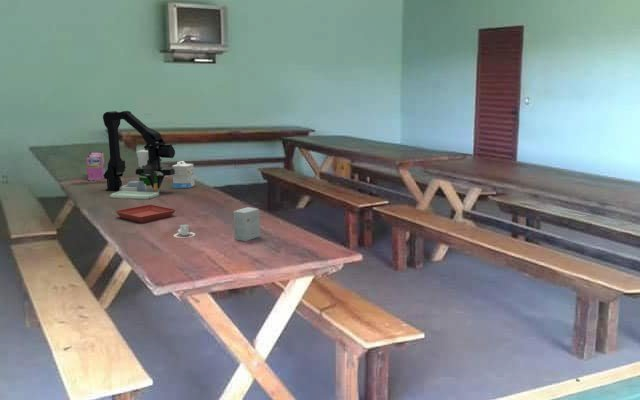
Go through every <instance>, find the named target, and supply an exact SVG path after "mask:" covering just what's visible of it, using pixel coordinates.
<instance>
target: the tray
mask: <svg viewBox="0 0 640 400" xmlns="http://www.w3.org/2000/svg"><path fill="white" fill-rule="evenodd" d="M159 196H160V192H133V191H120V190H117V191H116V192H113V193H110V194H108V199H126V200H128V199H129V200H130V199H131V200H147V201H149V200H151V199H155V198H157V197H159Z"/></svg>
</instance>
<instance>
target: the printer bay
mask: <svg viewBox="0 0 640 400" xmlns="http://www.w3.org/2000/svg"><path fill="white" fill-rule="evenodd" d="M144 189H147V185H146V184H144ZM119 191H133V192H137V187H128V183H127V184H124V185H122V186H121V187H120V190H119Z"/></svg>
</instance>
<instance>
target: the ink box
mask: <svg viewBox="0 0 640 400" xmlns="http://www.w3.org/2000/svg"><path fill="white" fill-rule="evenodd" d="M171 168H173V169H174V170H175V174H173V175H172V187H173V188H174V189H190V188H192V187H194V186H195V173H194V171H195V170H194V163H186V162H185V161H184V160H180V161H177V162H176V164H173V165H172V166H171Z"/></svg>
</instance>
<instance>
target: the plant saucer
mask: <svg viewBox="0 0 640 400" xmlns="http://www.w3.org/2000/svg"><path fill="white" fill-rule="evenodd" d="M176 210H177V209H175V208H171V207H165V206H160V205H155V204H145V205H140V206H139V205H138V206H135V207H129V208H124V209H118V210H115V211H114V212H115V214H117V215H118V216H119V217H120V218H122V219H125V220H128V221H132V222H133V221H134V222H138V223H145V222H151V221H155V220H159V219H160V220H161V219H164V218H169V217H172V216H173V214H175V212H176Z"/></svg>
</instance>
